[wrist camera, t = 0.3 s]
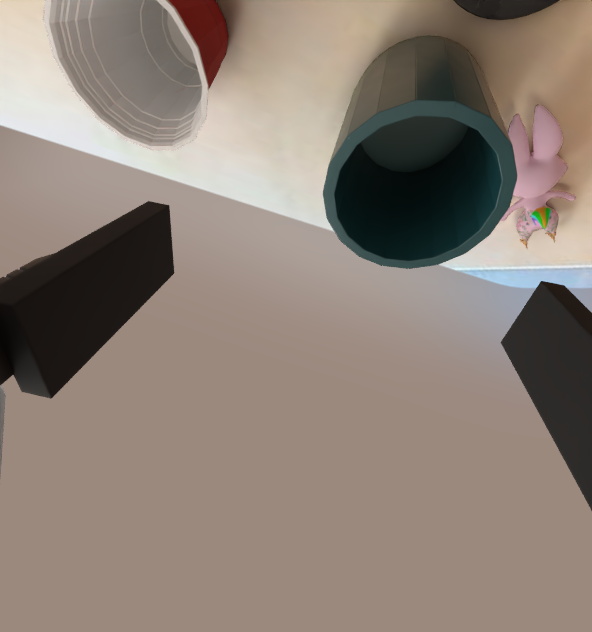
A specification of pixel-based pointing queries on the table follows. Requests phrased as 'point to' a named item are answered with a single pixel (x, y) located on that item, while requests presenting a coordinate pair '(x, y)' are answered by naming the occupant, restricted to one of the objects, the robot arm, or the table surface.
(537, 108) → the pink toy creature
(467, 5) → the lid
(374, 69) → the cup
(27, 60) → the table surface
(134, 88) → the plastic cup
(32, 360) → the robot arm
